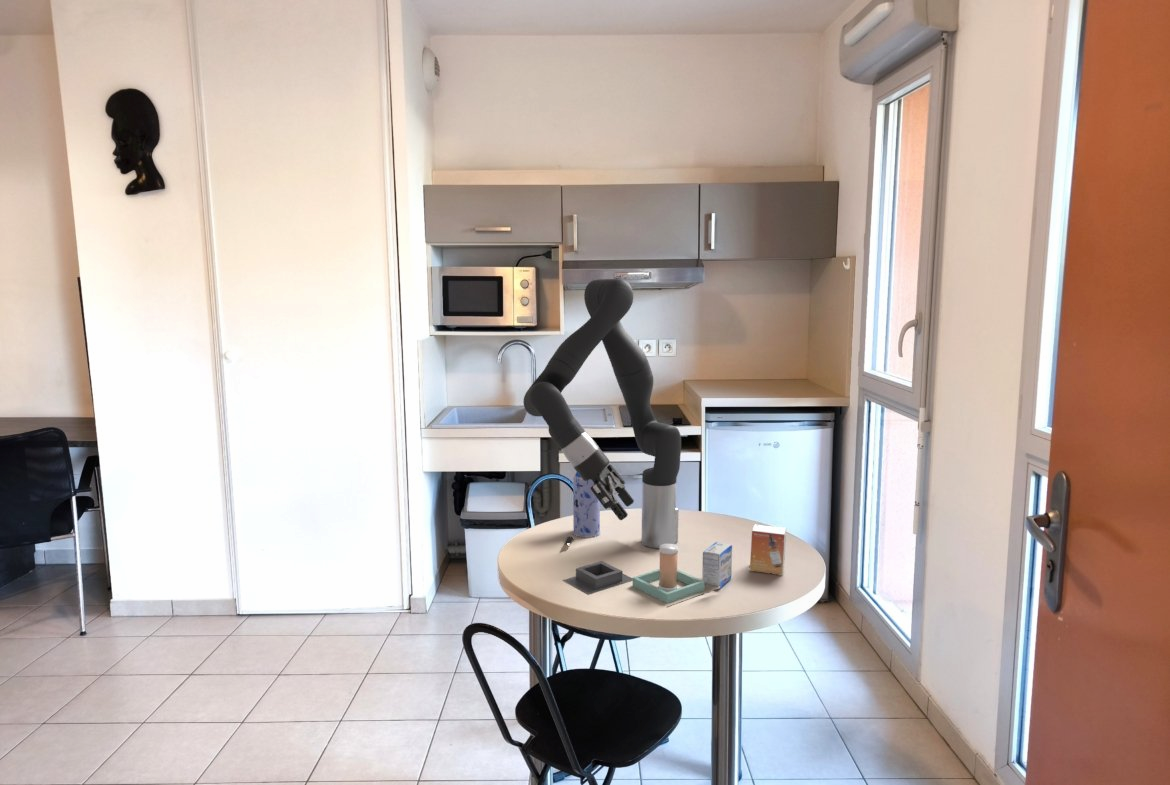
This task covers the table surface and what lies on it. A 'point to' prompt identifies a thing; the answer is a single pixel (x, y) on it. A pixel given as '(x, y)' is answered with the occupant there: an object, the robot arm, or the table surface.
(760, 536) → the small box
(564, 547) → the claw hammer
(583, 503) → the aerosol can
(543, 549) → the table surface
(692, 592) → the parts tray
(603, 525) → the table surface
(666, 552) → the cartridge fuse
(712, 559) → the medicine box
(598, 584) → the grey square socket stand
